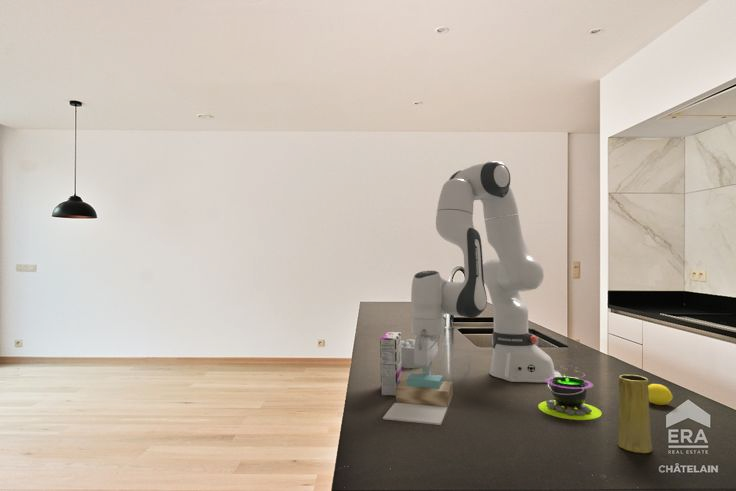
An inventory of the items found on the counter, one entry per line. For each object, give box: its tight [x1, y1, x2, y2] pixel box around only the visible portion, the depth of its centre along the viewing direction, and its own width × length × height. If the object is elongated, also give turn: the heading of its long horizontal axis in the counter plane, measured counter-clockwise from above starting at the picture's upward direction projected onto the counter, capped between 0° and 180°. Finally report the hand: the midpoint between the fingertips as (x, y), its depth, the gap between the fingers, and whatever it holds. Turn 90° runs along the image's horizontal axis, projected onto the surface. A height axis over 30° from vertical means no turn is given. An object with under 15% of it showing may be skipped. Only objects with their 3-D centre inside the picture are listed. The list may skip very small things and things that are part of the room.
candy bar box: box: [379, 331, 403, 397], centre depth 136 cm, size 11×5×16 cm, turn 168°
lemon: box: [648, 383, 674, 406], centre depth 122 cm, size 7×5×5 cm
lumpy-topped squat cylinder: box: [401, 338, 420, 369], centre depth 169 cm, size 10×13×9 cm
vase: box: [617, 374, 653, 454], centre depth 95 cm, size 6×6×14 cm
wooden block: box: [395, 377, 454, 408], centre depth 128 cm, size 14×10×4 cm
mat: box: [382, 402, 448, 426], centre depth 116 cm, size 14×12×1 cm
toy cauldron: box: [537, 364, 602, 421], centre depth 118 cm, size 15×15×11 cm
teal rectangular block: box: [407, 373, 444, 389], centre depth 128 cm, size 9×6×2 cm, turn 73°
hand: (427, 375), depth 132 cm, fingers closed
